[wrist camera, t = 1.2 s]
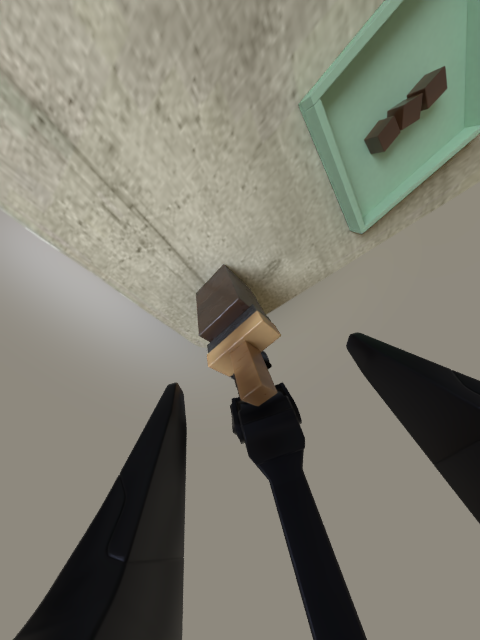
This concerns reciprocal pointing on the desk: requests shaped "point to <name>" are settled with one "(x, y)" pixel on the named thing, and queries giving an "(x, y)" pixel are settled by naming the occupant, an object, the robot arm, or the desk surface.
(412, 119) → the crumb
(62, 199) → the desk surface
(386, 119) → the crumb
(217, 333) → the dark brown block
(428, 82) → the crumb
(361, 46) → the tray
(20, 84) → the desk surface
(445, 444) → the robot arm
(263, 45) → the desk surface
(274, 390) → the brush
